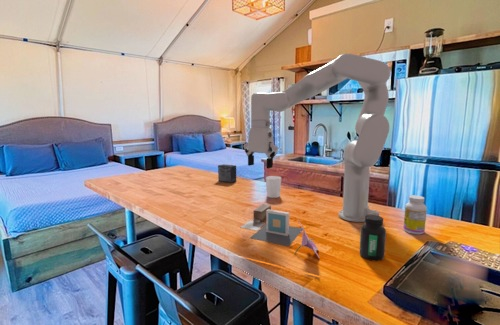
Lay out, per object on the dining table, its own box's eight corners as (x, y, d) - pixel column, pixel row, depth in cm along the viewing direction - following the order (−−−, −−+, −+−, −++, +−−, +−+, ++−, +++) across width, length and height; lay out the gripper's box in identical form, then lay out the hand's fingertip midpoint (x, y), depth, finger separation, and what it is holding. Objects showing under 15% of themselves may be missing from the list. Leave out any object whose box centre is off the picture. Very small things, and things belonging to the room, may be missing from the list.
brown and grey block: (274, 217, 118) (274, 205, 117) (256, 232, 103) (256, 218, 102) (259, 214, 121) (259, 203, 120) (240, 228, 106) (239, 215, 105)
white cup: (280, 198, 144) (280, 179, 142) (264, 197, 145) (264, 178, 143) (281, 194, 151) (281, 176, 150) (267, 193, 153) (267, 175, 151)
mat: (303, 229, 104) (303, 228, 104) (288, 247, 90) (288, 246, 90) (268, 223, 111) (268, 222, 111) (249, 239, 97) (249, 238, 97)
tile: (288, 234, 99) (289, 212, 98) (287, 236, 98) (287, 214, 96) (268, 230, 103) (268, 209, 102) (266, 232, 101) (266, 210, 100)
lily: (310, 274, 77) (328, 244, 76) (275, 248, 82) (291, 220, 82) (319, 266, 88) (334, 240, 87) (287, 244, 93) (302, 219, 92)
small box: (237, 181, 183) (236, 165, 181) (231, 183, 177) (230, 166, 176) (224, 179, 188) (223, 163, 187) (217, 181, 183) (217, 165, 181)
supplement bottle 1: (376, 263, 80) (378, 223, 78) (354, 254, 85) (356, 216, 83) (388, 256, 84) (391, 218, 82) (367, 248, 89) (369, 211, 87)
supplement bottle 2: (405, 226, 107) (408, 193, 104) (425, 230, 102) (429, 196, 100) (401, 232, 101) (404, 197, 99) (422, 236, 97) (426, 200, 95)
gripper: (283, 124, 111) (282, 167, 114) (249, 123, 122) (249, 163, 125) (272, 125, 105) (271, 170, 108) (238, 124, 116) (238, 165, 119)
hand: (260, 166), depth 117 cm, fingers open, 9 cm apart
